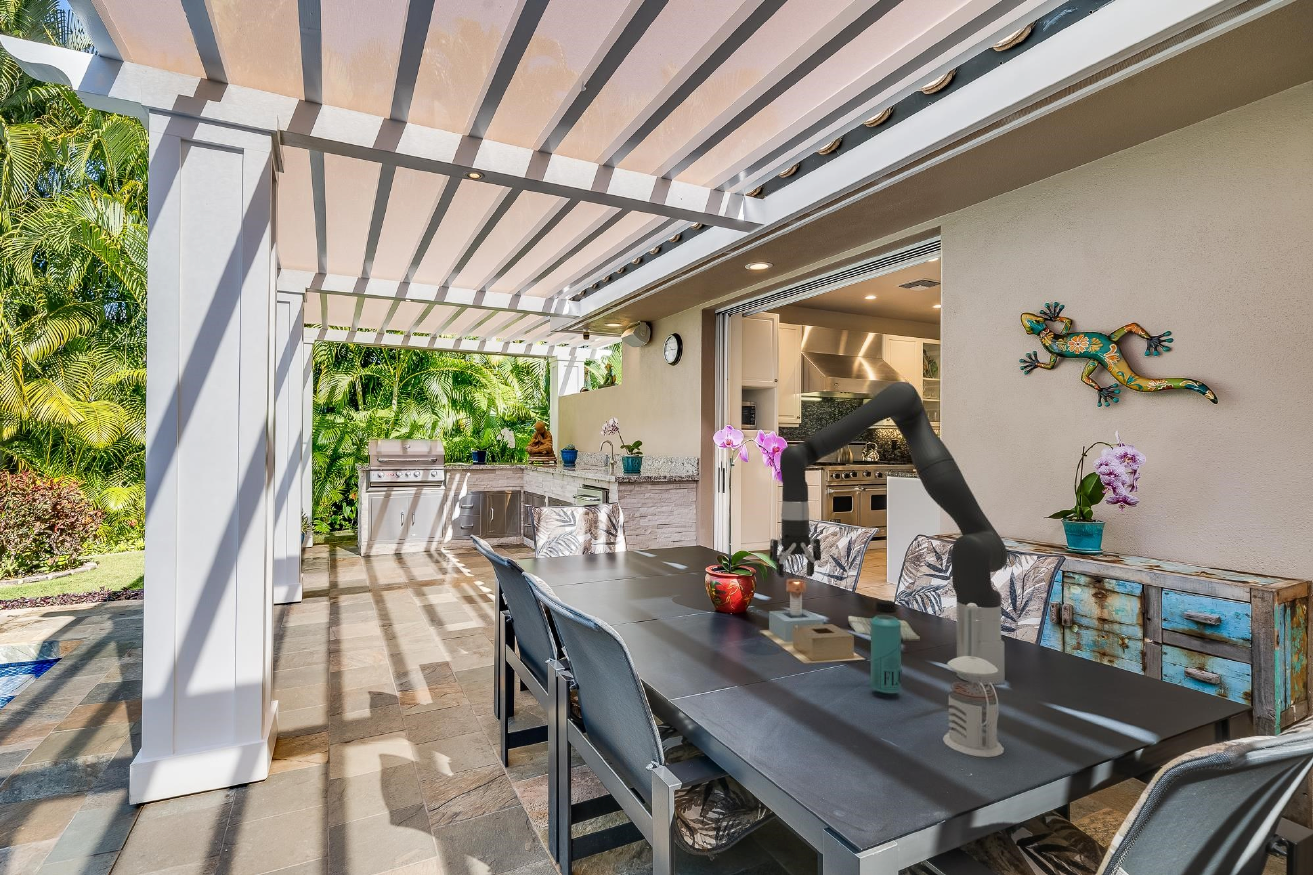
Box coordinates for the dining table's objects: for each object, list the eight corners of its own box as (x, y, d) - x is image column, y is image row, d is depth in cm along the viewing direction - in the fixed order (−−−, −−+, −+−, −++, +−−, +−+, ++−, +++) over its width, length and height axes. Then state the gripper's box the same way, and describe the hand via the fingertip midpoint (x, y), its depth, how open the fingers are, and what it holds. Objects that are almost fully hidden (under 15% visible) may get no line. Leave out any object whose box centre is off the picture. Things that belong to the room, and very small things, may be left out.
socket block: (823, 639, 174) (823, 619, 174) (785, 642, 171) (785, 621, 171) (805, 628, 184) (805, 609, 185) (769, 630, 182) (769, 611, 182)
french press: (984, 731, 120) (984, 596, 121) (1022, 761, 109) (1021, 612, 109) (933, 732, 120) (932, 596, 120) (965, 762, 108) (964, 612, 109)
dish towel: (922, 644, 177) (922, 632, 177) (855, 640, 180) (855, 629, 180) (907, 626, 196) (907, 615, 196) (846, 623, 199) (846, 612, 199)
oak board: (865, 665, 158) (865, 659, 158) (804, 669, 154) (804, 663, 154) (811, 632, 186) (811, 627, 186) (759, 635, 182) (759, 630, 182)
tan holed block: (853, 658, 158) (853, 635, 158) (812, 661, 156) (812, 638, 156) (832, 645, 169) (832, 624, 169) (793, 647, 166) (793, 626, 167)
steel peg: (808, 637, 176) (809, 582, 176) (790, 638, 175) (791, 582, 175) (800, 632, 181) (800, 578, 181) (782, 633, 180) (783, 578, 180)
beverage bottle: (881, 702, 134) (881, 605, 135) (863, 690, 141) (863, 598, 141) (908, 699, 136) (908, 603, 136) (889, 688, 142) (889, 596, 143)
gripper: (776, 519, 173) (776, 580, 173) (825, 518, 176) (825, 578, 176) (765, 516, 181) (765, 575, 180) (812, 516, 184) (813, 573, 183)
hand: (795, 576), depth 178 cm, fingers open, 8 cm apart
